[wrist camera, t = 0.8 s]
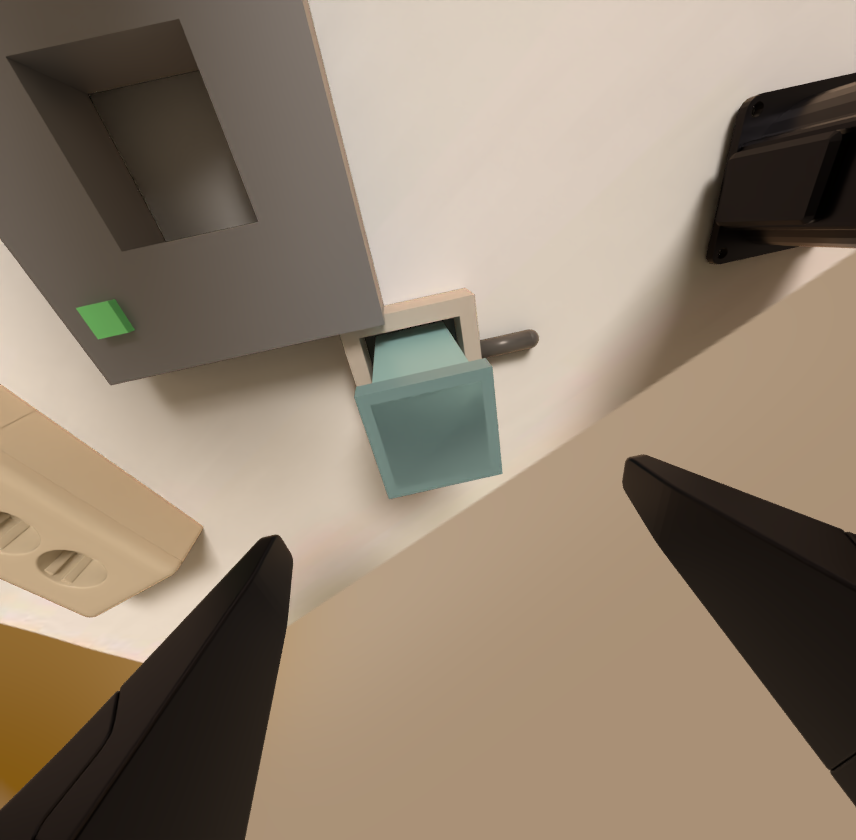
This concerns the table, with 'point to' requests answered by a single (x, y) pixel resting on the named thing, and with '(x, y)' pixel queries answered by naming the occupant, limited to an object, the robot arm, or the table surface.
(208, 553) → the table surface
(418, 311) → the beige frame with handle
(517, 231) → the table surface
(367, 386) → the plug
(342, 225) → the port panel
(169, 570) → the electrical outlet
